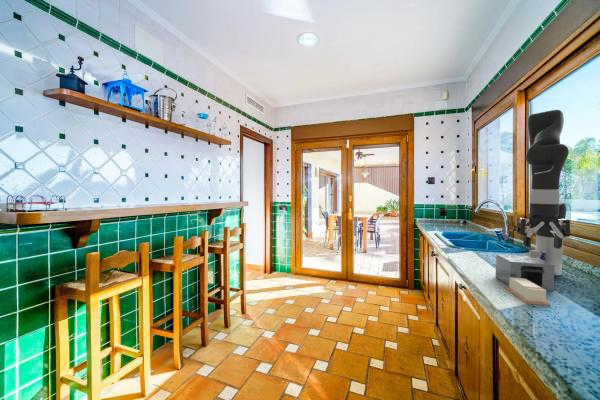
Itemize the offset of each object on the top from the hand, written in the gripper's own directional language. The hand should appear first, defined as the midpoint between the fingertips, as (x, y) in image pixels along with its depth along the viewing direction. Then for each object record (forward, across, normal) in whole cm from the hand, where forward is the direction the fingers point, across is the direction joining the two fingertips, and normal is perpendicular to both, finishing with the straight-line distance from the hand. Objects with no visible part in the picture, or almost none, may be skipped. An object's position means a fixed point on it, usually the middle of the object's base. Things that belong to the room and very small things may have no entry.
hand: (541, 247), depth 92 cm
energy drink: (+19, -12, -25) cm, 34 cm away
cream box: (+17, +4, 0) cm, 18 cm away
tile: (+18, +4, 0) cm, 19 cm away
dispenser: (+19, -2, -15) cm, 24 cm away
